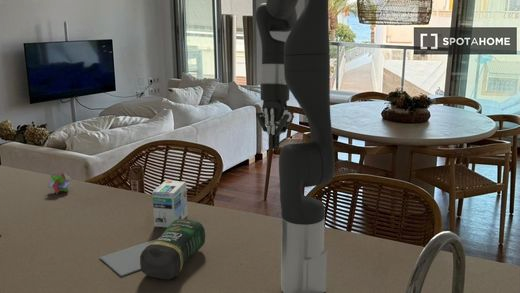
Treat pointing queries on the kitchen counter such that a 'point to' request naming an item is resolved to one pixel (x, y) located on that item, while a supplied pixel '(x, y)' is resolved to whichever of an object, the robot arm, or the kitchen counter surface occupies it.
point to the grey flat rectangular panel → (126, 259)
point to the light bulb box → (169, 202)
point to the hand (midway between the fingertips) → (273, 148)
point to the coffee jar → (172, 249)
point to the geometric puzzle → (60, 183)
